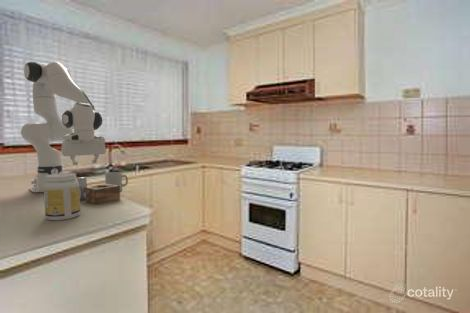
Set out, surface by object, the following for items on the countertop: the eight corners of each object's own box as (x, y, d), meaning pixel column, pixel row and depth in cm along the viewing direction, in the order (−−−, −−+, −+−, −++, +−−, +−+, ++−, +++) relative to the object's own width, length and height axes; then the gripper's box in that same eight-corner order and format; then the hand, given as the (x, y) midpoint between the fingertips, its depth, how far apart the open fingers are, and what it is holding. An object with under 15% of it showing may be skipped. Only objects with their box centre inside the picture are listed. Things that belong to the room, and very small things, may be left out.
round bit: (76, 199, 144) (75, 178, 143) (85, 198, 147) (84, 177, 146) (80, 200, 142) (79, 178, 141) (88, 199, 145) (87, 177, 144)
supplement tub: (73, 210, 124) (71, 171, 122) (86, 216, 116) (84, 174, 115) (40, 217, 114) (37, 175, 113) (51, 223, 107) (49, 178, 105)
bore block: (85, 201, 141) (85, 187, 140) (109, 196, 150) (108, 183, 150) (96, 204, 135) (95, 189, 134) (120, 199, 144) (119, 185, 144)
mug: (108, 194, 156) (107, 174, 156) (104, 191, 163) (103, 172, 162) (130, 191, 164) (129, 172, 163) (125, 189, 171) (125, 170, 170)
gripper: (101, 135, 152) (101, 161, 153) (59, 136, 135) (60, 165, 137) (107, 136, 148) (108, 163, 149) (65, 136, 132) (66, 166, 133)
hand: (85, 164), depth 143 cm, fingers open, 8 cm apart
